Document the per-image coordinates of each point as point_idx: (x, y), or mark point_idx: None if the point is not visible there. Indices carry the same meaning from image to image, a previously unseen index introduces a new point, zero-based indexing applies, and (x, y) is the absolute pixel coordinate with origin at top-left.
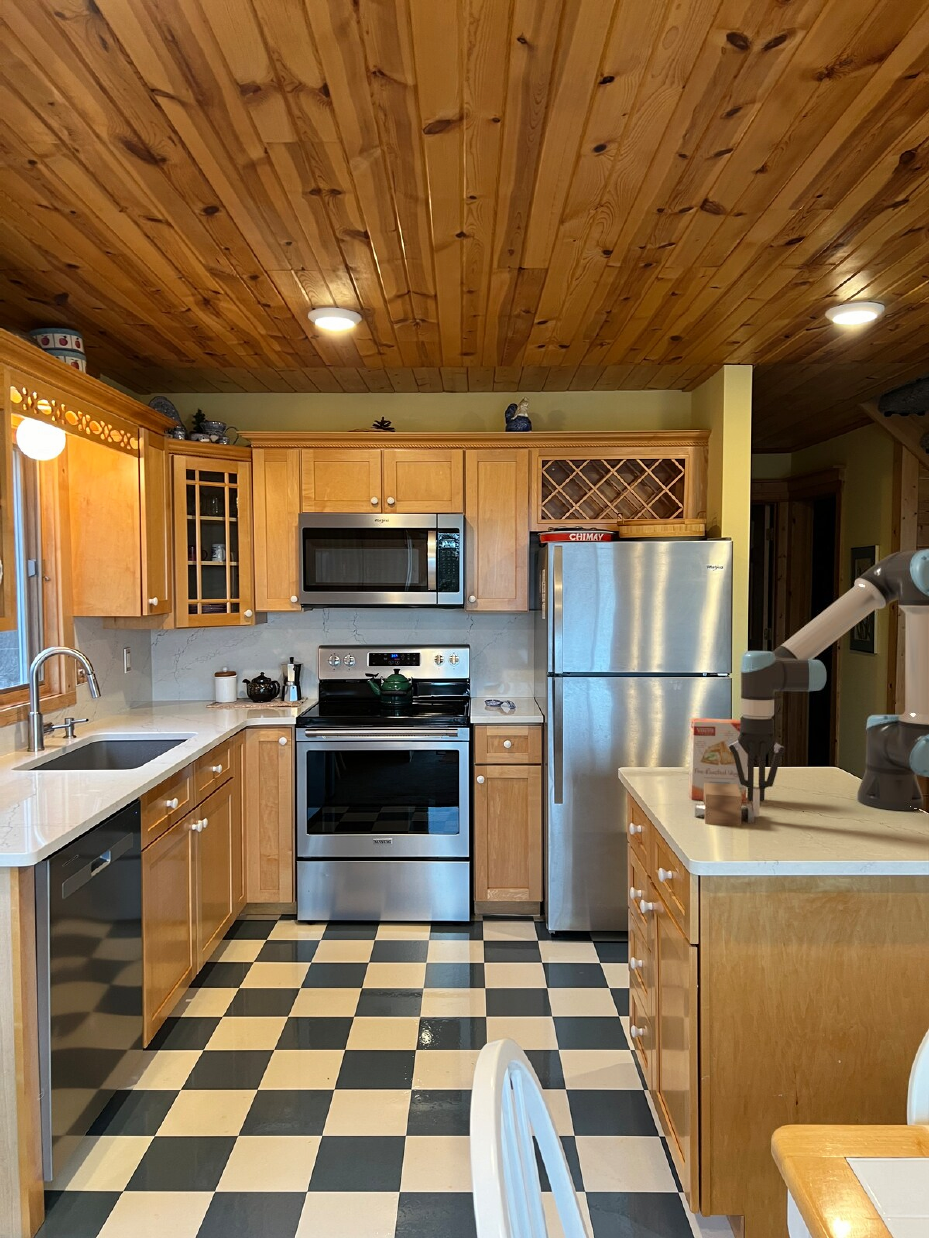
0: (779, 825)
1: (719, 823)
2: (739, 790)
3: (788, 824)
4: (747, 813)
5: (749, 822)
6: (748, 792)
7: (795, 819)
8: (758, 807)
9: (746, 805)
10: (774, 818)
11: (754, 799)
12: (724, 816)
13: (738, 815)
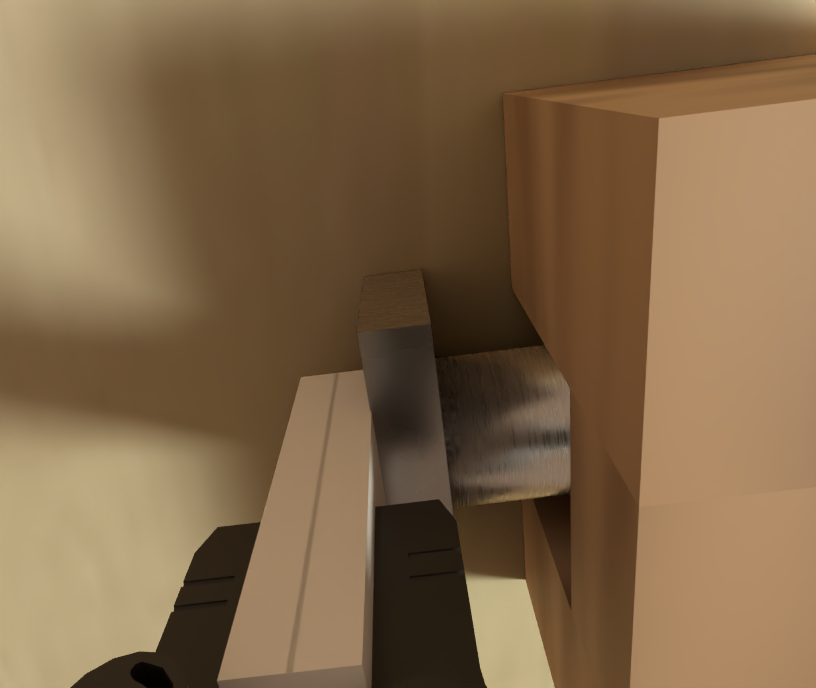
0: (90, 310)
1: (774, 59)
2: (634, 645)
3: (15, 383)
4: (438, 376)
5: (407, 273)
6: (460, 610)
7: (4, 566)
8: (297, 436)
9: None
10: (186, 532)
11: (347, 505)
12: (768, 67)
13: (574, 91)
